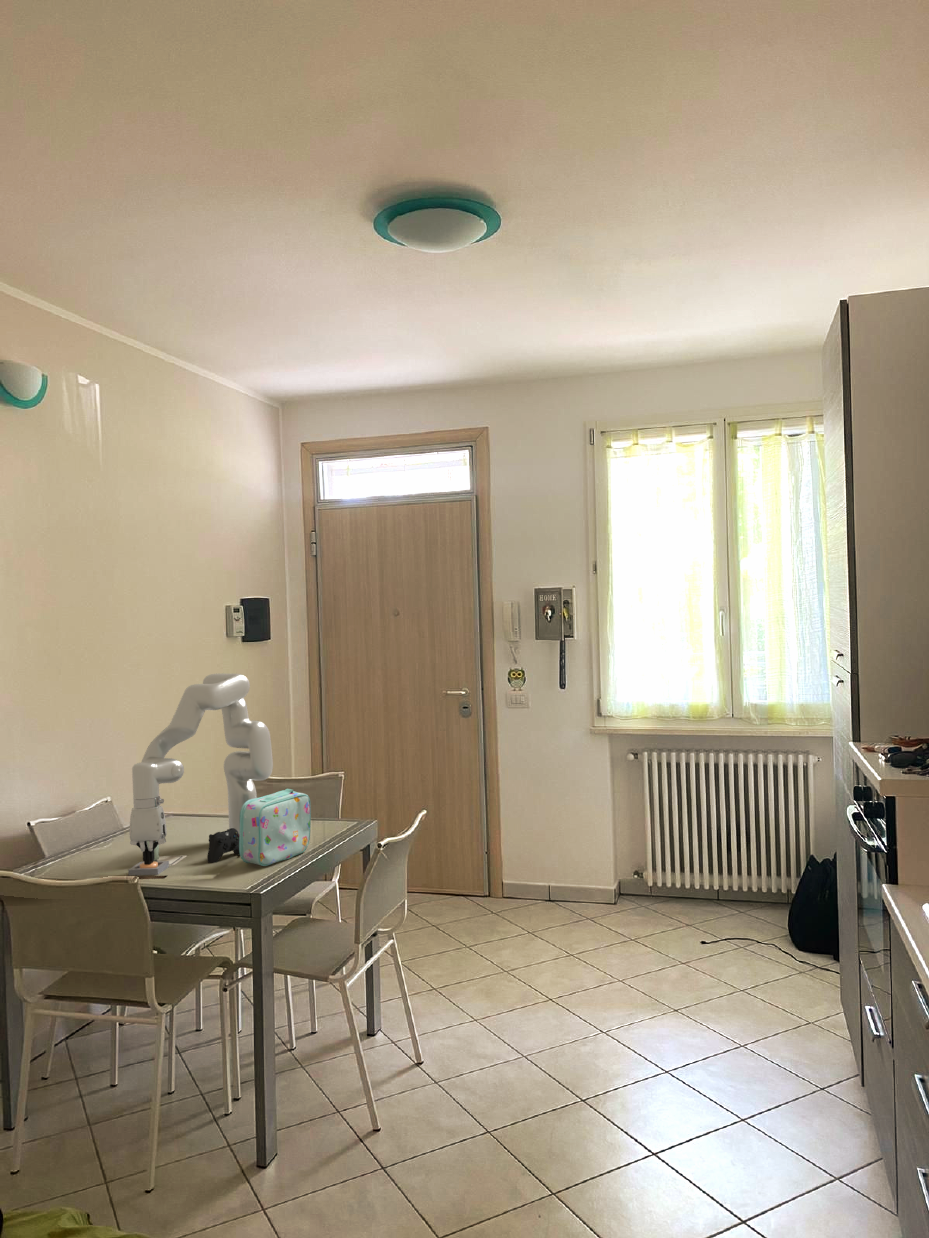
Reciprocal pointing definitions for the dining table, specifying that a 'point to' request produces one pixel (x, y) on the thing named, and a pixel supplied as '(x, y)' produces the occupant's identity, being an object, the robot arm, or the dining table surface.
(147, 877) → the drawing board
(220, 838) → the gaming controller
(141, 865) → the button
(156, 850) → the pale green cylinder
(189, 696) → the robot arm
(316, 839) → the dining table surface
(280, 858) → the lunch box
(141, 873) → the button housing
